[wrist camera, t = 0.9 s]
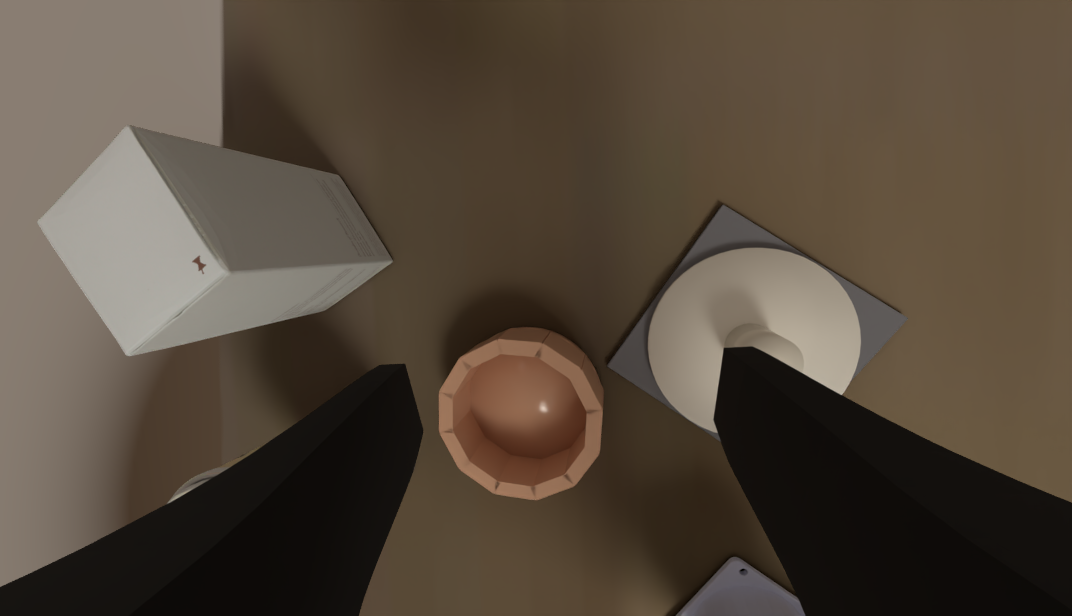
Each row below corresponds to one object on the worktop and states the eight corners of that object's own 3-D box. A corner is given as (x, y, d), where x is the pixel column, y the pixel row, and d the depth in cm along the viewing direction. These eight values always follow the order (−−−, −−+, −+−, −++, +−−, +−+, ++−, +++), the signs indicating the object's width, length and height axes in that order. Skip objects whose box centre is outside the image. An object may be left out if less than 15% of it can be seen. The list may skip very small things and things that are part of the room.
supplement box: (340, 171, 28) (126, 115, 16) (397, 262, 28) (230, 277, 16) (269, 229, 30) (27, 218, 17) (323, 314, 30) (122, 363, 18)
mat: (903, 316, 23) (908, 318, 22) (765, 469, 26) (767, 472, 25) (721, 205, 24) (723, 204, 23) (607, 364, 26) (607, 366, 26)
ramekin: (632, 381, 26) (636, 405, 22) (552, 489, 29) (542, 528, 25) (507, 298, 27) (489, 307, 23) (438, 410, 29) (412, 436, 25)
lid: (902, 319, 22) (966, 335, 18) (766, 468, 25) (796, 512, 21) (723, 209, 23) (747, 202, 19) (611, 365, 26) (611, 388, 22)
